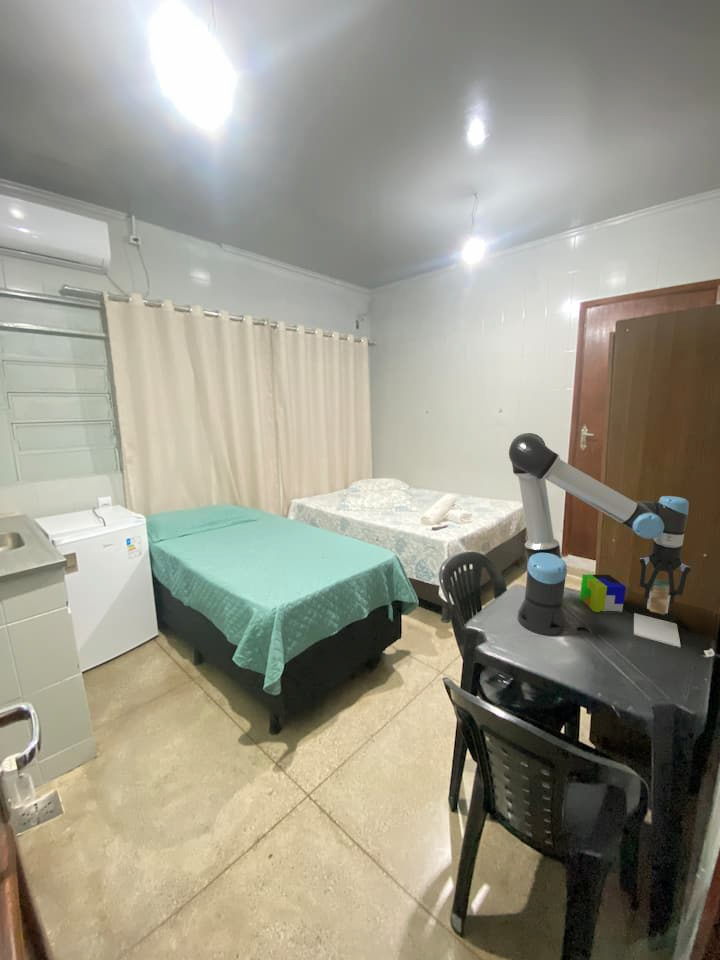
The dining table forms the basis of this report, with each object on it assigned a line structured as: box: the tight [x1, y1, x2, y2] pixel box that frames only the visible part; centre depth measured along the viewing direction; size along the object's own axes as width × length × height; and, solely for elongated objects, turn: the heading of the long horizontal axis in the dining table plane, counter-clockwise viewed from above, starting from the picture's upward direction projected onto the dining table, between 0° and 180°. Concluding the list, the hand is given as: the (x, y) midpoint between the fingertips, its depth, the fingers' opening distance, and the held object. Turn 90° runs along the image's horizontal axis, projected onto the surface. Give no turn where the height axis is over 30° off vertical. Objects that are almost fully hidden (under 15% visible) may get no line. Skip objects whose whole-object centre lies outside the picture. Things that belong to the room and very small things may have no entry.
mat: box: [633, 612, 682, 648], centre depth 132 cm, size 12×15×1 cm
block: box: [649, 578, 670, 615], centre depth 132 cm, size 4×4×10 cm
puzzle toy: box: [579, 573, 627, 613], centre depth 147 cm, size 10×10×10 cm
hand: (657, 609), depth 133 cm, fingers closed on block, 4 cm apart
